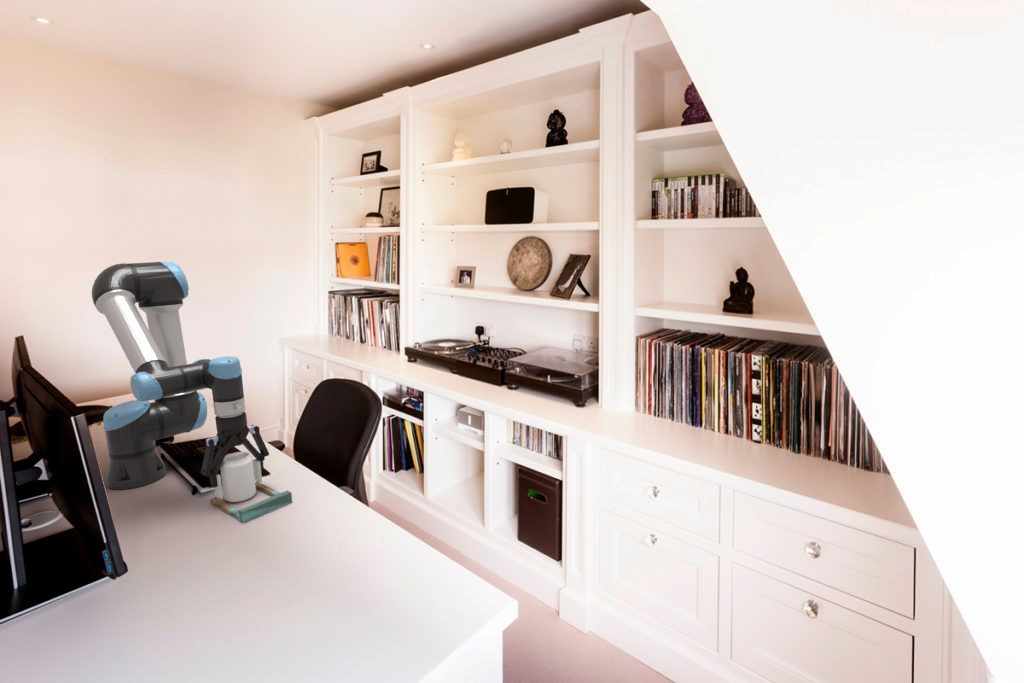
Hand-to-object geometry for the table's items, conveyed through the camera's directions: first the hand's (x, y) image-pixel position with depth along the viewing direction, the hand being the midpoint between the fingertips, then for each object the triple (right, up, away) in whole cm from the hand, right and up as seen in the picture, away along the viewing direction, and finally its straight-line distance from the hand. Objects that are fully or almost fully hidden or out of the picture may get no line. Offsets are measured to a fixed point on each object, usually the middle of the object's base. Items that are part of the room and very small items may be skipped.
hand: (239, 489), depth 153 cm
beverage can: (0, -3, +1) cm, 3 cm away
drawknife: (+5, -3, -3) cm, 6 cm away
